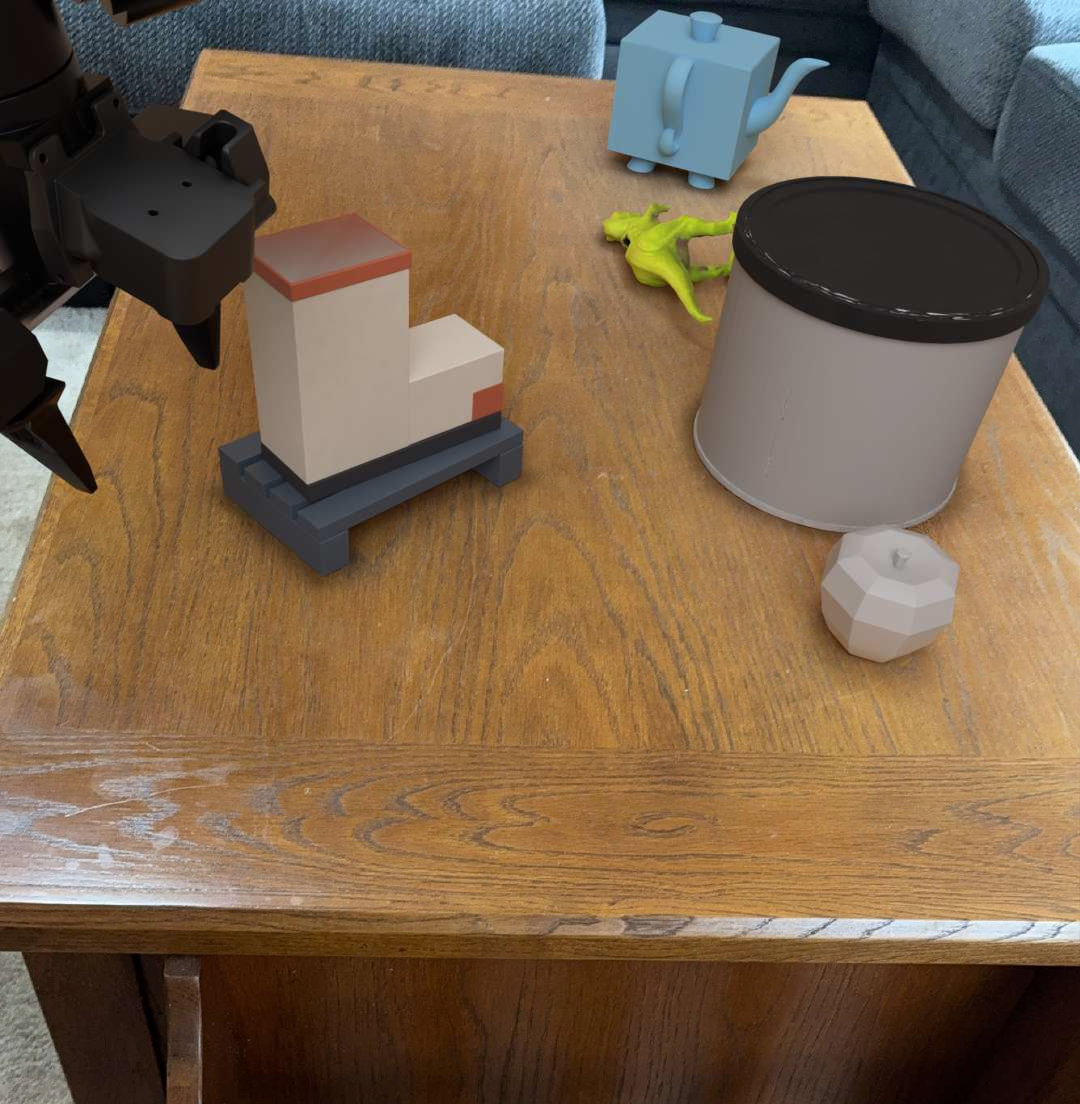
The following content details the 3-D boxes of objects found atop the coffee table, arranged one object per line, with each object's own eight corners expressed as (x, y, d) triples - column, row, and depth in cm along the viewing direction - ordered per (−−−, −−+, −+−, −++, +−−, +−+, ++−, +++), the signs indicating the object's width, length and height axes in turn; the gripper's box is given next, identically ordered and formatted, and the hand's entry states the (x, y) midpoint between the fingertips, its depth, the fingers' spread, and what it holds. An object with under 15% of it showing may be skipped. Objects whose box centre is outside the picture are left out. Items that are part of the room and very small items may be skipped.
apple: (787, 591, 67) (817, 503, 62) (912, 595, 68) (951, 509, 63) (816, 686, 62) (851, 599, 57) (951, 690, 63) (997, 603, 58)
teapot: (595, 176, 105) (614, 22, 96) (647, 124, 115) (669, -20, 106) (776, 224, 102) (815, 69, 92) (814, 166, 112) (852, 21, 102)
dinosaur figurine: (800, 325, 89) (821, 250, 85) (698, 349, 86) (714, 272, 81) (664, 219, 100) (676, 148, 96) (568, 236, 96) (576, 163, 92)
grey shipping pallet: (323, 577, 64) (319, 529, 62) (223, 494, 68) (216, 446, 66) (520, 476, 72) (525, 431, 70) (421, 408, 77) (421, 362, 74)
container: (667, 495, 72) (714, 275, 61) (713, 356, 85) (759, 152, 74) (955, 564, 70) (1058, 348, 59) (959, 411, 83) (1045, 209, 72)
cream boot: (308, 504, 63) (290, 285, 53) (260, 459, 65) (235, 241, 56) (502, 428, 70) (517, 221, 60) (452, 389, 72) (459, 185, 63)
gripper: (-23, 255, 31) (168, 618, 44) (328, -19, 41) (401, 346, 53) (-286, 188, 35) (-39, 543, 47) (93, -51, 44) (215, 299, 57)
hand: (151, 425), depth 51 cm, fingers open, 9 cm apart
